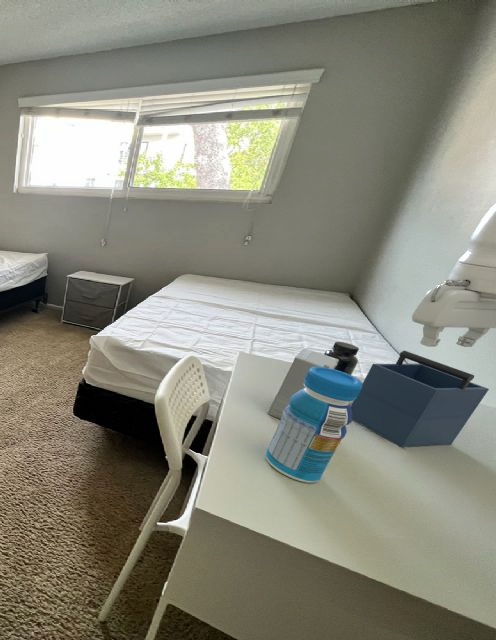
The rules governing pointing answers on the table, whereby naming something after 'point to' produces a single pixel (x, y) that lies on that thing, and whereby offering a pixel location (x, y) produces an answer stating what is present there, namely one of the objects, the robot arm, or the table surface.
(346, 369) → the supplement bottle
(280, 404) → the cosmetic box
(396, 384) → the upper bin
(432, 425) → the lower bin
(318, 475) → the blue vitamin bottle
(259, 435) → the table surface
